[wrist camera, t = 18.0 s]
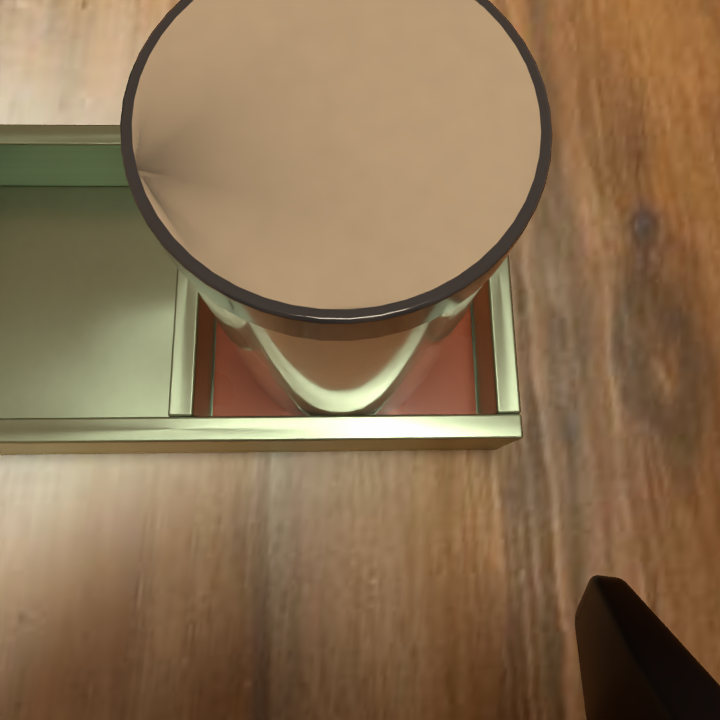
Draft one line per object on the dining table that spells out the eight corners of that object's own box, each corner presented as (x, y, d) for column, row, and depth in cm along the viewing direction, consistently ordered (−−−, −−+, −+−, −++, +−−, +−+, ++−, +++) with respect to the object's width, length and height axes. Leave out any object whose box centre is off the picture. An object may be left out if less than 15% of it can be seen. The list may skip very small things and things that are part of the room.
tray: (497, 449, 20) (523, 438, 17) (-101, 455, 19) (-180, 445, 16) (478, 177, 22) (499, 126, 19) (-54, 175, 22) (-116, 123, 19)
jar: (238, 435, 19) (110, 334, 8) (236, 239, 21) (125, -54, 10) (450, 423, 19) (583, 311, 9) (431, 230, 21) (524, -64, 10)
